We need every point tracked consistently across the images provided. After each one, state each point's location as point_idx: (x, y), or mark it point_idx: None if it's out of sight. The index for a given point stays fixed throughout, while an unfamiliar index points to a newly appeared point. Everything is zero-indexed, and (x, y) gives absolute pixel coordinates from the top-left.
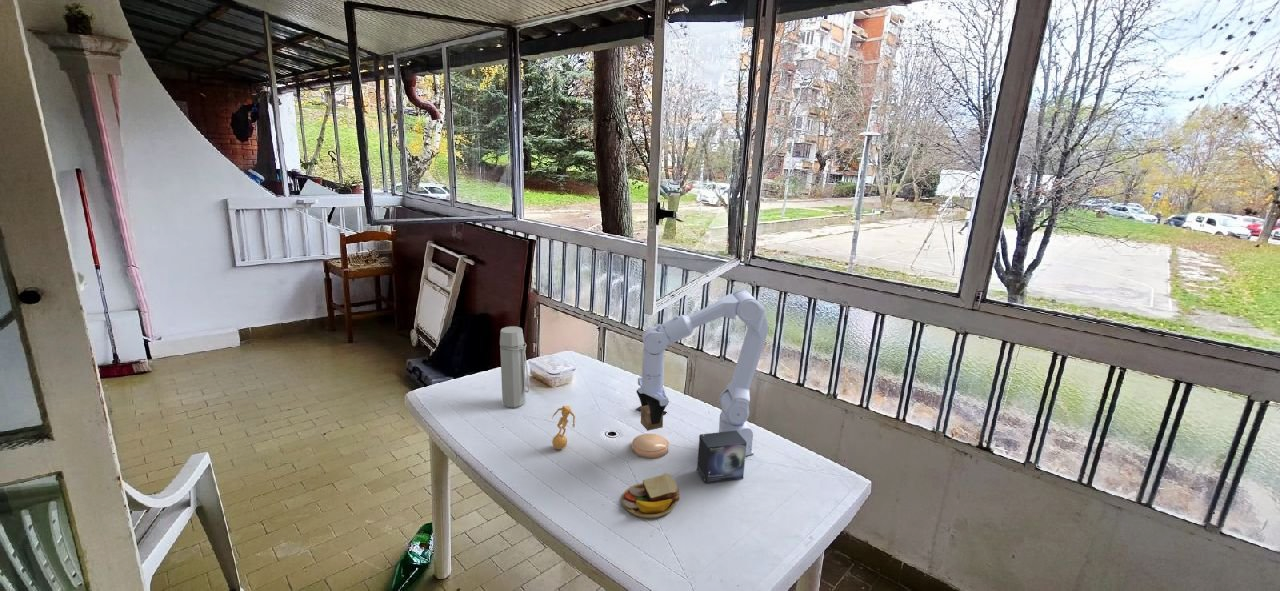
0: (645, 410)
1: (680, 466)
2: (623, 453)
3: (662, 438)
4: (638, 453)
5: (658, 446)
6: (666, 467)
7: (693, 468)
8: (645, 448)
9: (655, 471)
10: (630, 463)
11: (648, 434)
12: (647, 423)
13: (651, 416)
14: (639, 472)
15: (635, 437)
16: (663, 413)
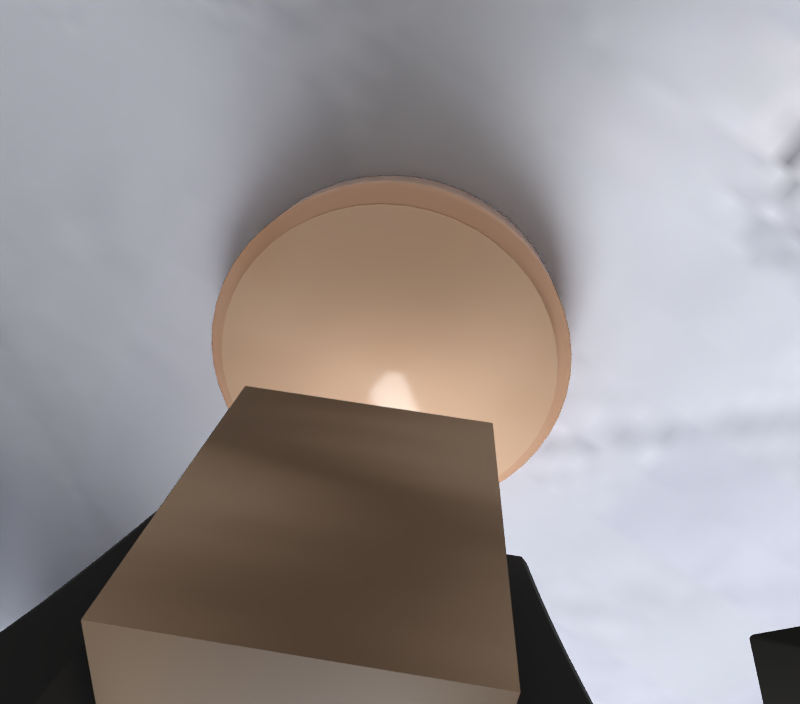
0: (265, 659)
1: (65, 390)
2: (450, 63)
3: None
4: (330, 187)
5: (280, 390)
6: (80, 295)
7: (19, 445)
8: (301, 268)
9: (46, 179)
10: (245, 27)
11: (518, 433)
12: (211, 453)
13: (53, 606)
14: (66, 26)
15: (561, 304)
16: (781, 695)
